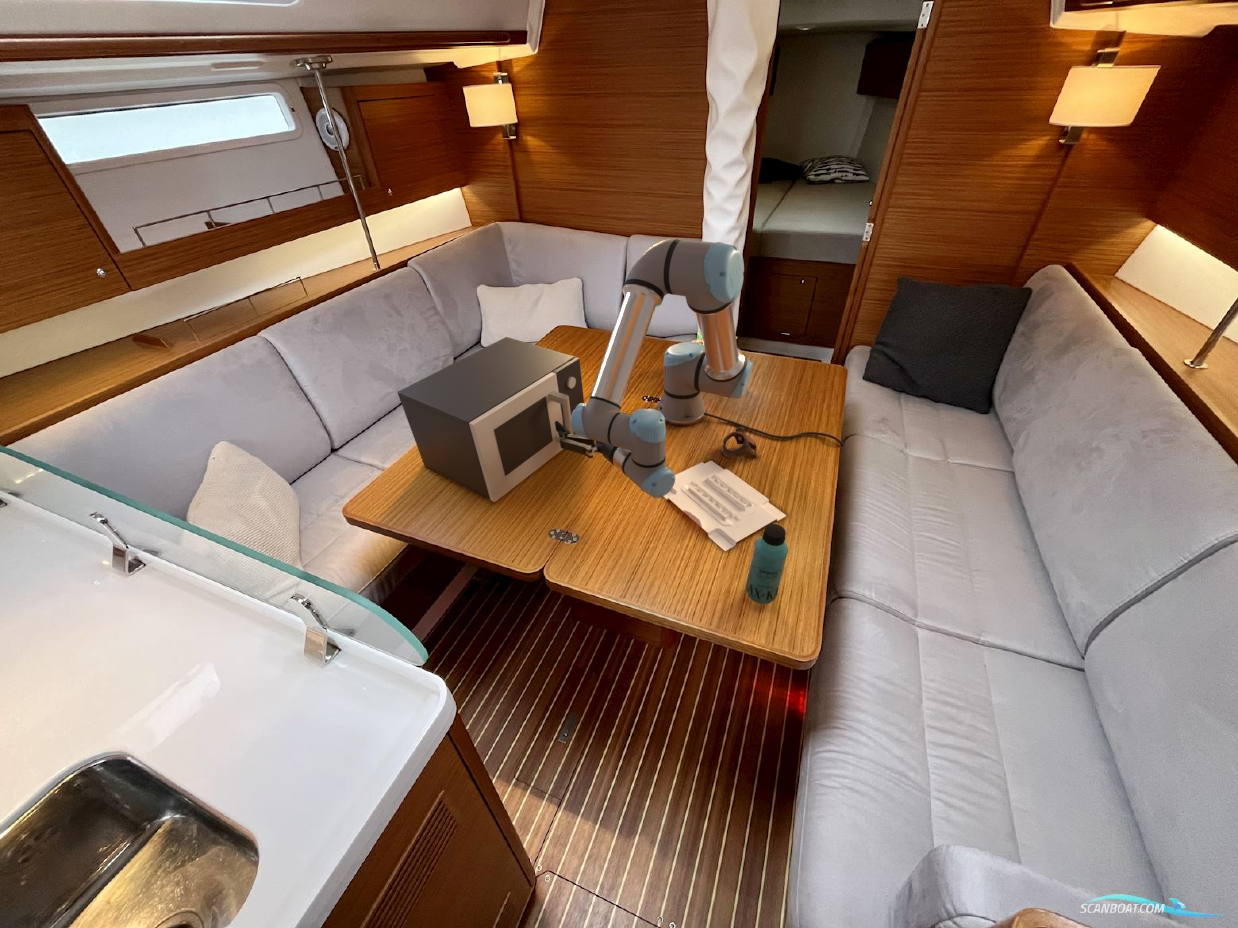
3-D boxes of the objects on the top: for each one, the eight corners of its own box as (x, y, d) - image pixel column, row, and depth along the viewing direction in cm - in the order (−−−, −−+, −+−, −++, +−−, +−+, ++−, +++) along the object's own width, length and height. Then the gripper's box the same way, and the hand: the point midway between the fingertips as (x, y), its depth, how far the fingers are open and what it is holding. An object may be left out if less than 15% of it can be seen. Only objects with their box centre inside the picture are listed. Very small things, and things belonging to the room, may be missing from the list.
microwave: (589, 431, 157) (581, 358, 141) (496, 503, 132) (474, 425, 116) (519, 405, 171) (506, 336, 156) (424, 466, 146) (397, 391, 131)
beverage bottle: (740, 585, 107) (751, 519, 94) (771, 583, 107) (786, 516, 95) (749, 611, 102) (762, 544, 89) (781, 608, 102) (798, 541, 90)
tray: (711, 460, 142) (712, 449, 139) (786, 518, 124) (789, 507, 121) (653, 488, 133) (653, 477, 131) (724, 554, 115) (726, 544, 113)
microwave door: (581, 452, 147) (573, 378, 132) (510, 510, 129) (490, 432, 114) (562, 445, 151) (551, 371, 136) (490, 500, 132) (468, 422, 117)
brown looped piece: (761, 465, 140) (752, 448, 134) (729, 474, 144) (719, 458, 138) (757, 432, 147) (747, 416, 141) (726, 442, 151) (716, 426, 145)
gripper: (581, 486, 116) (539, 445, 130) (664, 447, 127) (617, 412, 141) (578, 461, 112) (535, 421, 126) (664, 422, 122) (616, 389, 136)
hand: (578, 416), depth 133 cm, fingers open, 13 cm apart
